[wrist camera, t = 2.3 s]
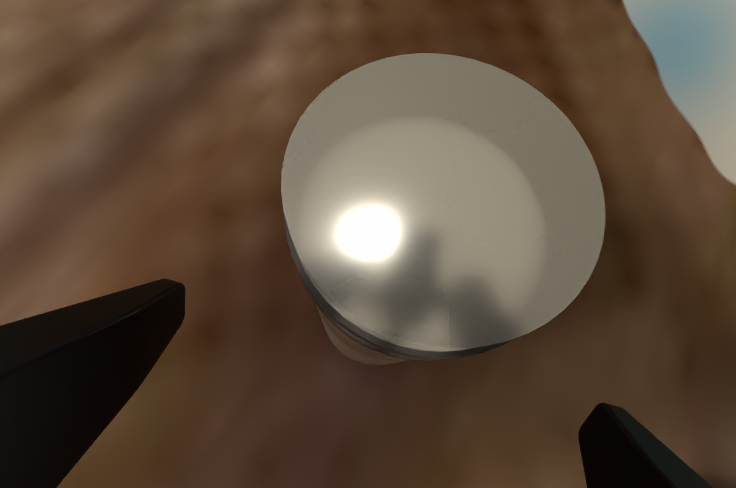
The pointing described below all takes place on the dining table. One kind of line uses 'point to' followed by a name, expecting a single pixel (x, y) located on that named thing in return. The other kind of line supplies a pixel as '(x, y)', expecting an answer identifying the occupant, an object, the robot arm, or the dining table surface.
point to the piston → (438, 208)
